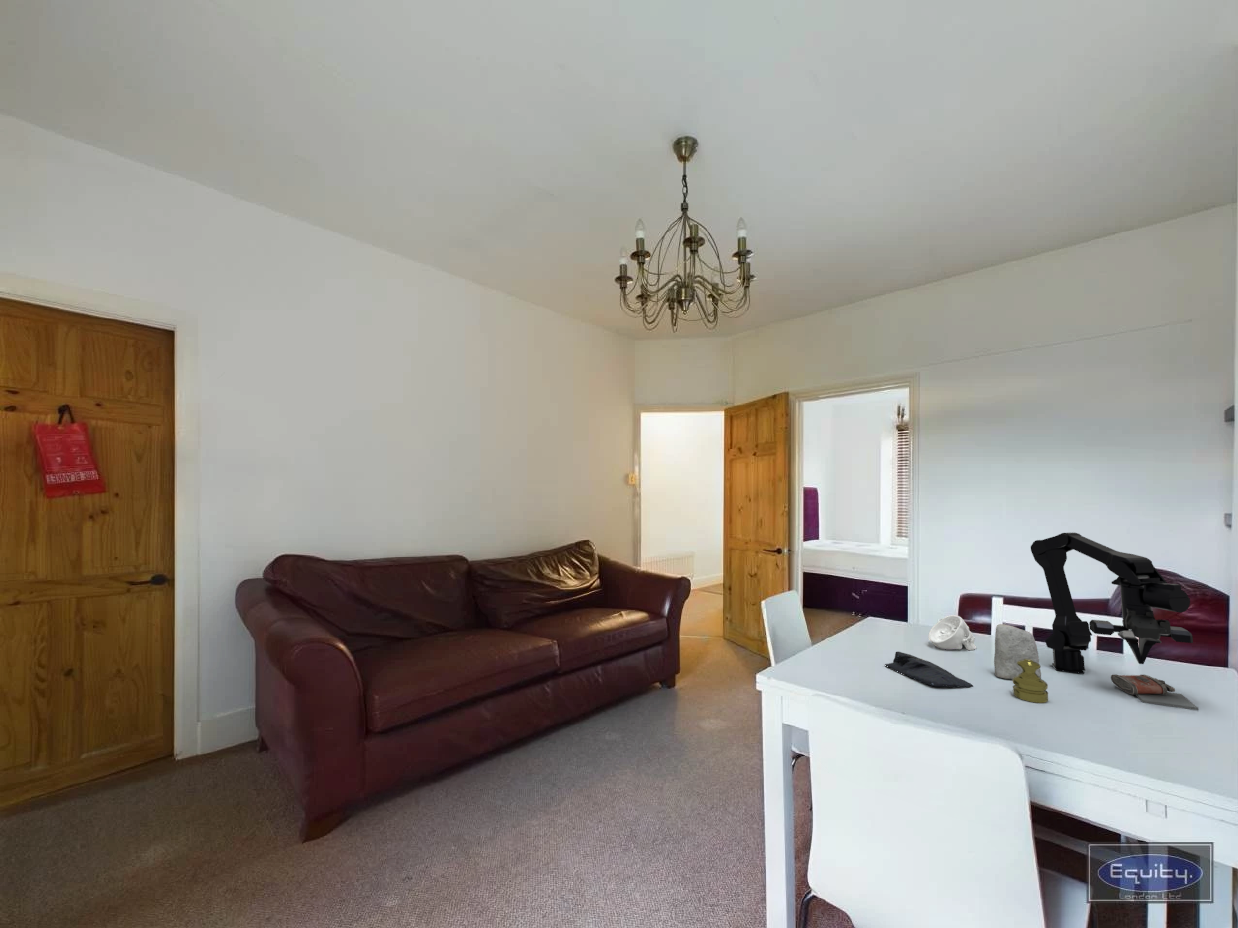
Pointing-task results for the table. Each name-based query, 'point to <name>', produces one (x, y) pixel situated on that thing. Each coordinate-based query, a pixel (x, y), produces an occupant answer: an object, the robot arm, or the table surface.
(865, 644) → the table surface
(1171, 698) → the mat
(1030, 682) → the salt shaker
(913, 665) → the dark slate chunk
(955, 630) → the skull bowl
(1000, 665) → the decorative stone
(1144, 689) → the lighter
